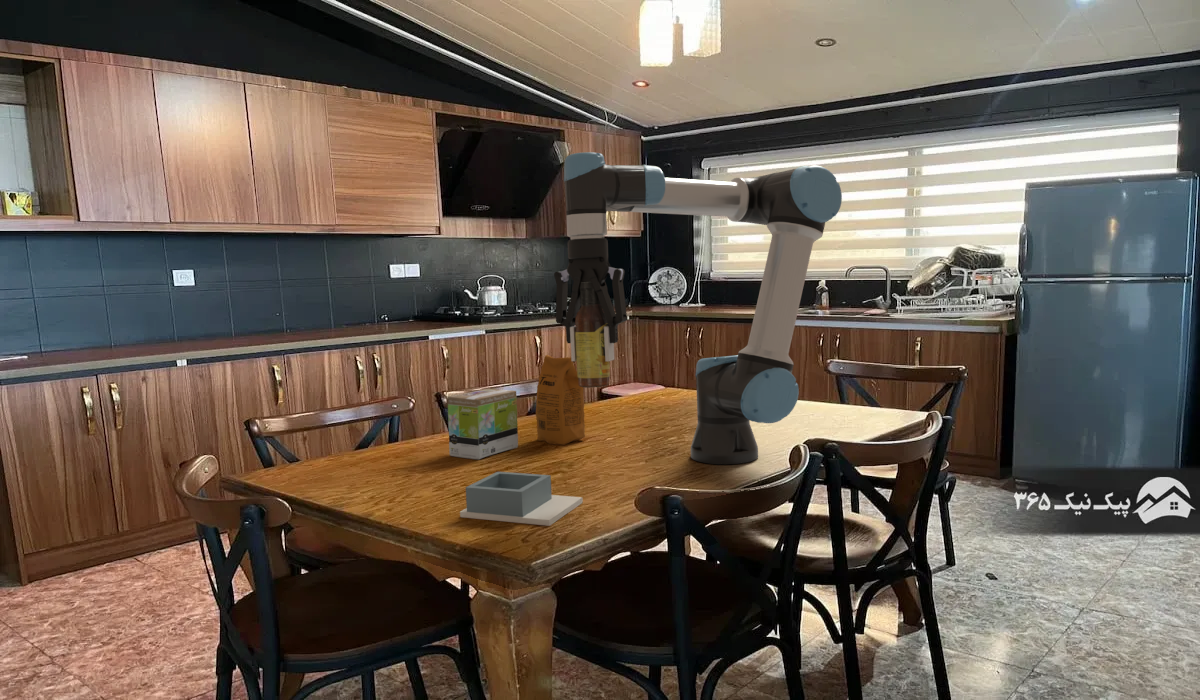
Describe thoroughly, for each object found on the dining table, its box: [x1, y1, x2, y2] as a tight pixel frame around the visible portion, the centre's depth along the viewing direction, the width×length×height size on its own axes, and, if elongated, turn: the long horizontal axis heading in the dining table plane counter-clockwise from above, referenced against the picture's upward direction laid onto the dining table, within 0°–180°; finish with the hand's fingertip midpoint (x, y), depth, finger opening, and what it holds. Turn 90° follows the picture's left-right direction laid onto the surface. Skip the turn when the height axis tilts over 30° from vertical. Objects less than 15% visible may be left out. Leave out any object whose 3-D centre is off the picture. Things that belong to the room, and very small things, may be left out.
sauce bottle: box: [575, 282, 611, 389], centre depth 150 cm, size 7×6×20 cm
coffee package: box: [535, 354, 586, 445], centre depth 204 cm, size 10×12×22 cm
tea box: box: [447, 388, 519, 460], centre depth 195 cm, size 15×10×15 cm, turn 148°
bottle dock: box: [459, 471, 584, 527], centre depth 146 cm, size 18×14×6 cm
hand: (592, 360), depth 151 cm, fingers closed on sauce bottle, 6 cm apart
